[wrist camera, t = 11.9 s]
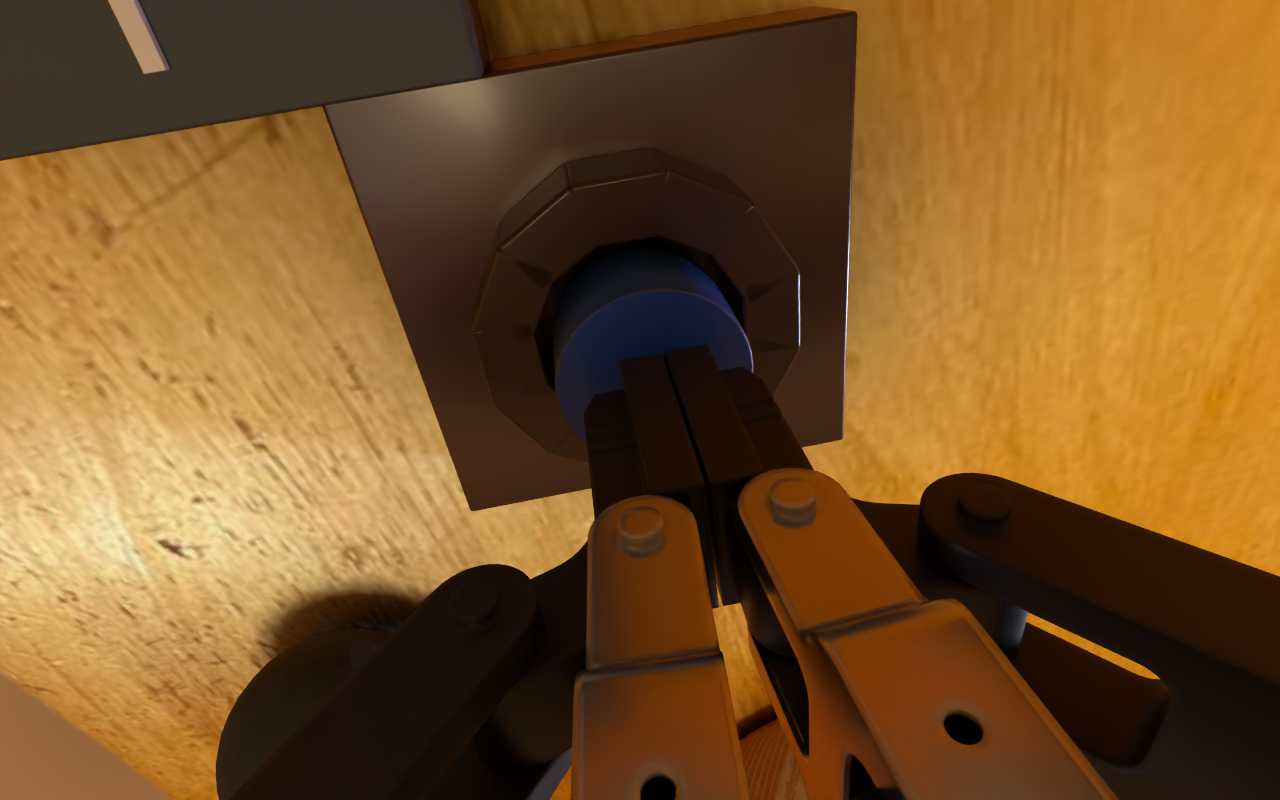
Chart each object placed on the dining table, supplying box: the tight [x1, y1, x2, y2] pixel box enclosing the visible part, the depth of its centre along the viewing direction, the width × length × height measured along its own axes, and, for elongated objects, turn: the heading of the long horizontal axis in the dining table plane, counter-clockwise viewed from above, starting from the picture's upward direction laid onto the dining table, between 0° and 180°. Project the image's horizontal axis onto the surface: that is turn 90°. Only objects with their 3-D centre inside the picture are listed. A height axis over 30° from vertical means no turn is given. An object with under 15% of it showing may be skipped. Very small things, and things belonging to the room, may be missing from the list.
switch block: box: [322, 6, 857, 511], centre depth 15 cm, size 10×10×4 cm
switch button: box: [552, 248, 753, 443], centre depth 13 cm, size 4×4×2 cm
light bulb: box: [216, 628, 391, 800], centre depth 21 cm, size 6×6×10 cm
